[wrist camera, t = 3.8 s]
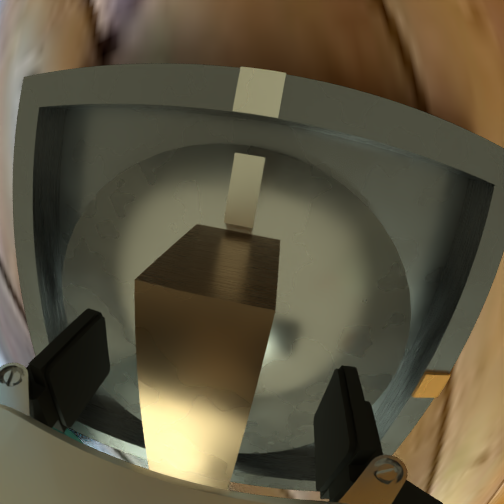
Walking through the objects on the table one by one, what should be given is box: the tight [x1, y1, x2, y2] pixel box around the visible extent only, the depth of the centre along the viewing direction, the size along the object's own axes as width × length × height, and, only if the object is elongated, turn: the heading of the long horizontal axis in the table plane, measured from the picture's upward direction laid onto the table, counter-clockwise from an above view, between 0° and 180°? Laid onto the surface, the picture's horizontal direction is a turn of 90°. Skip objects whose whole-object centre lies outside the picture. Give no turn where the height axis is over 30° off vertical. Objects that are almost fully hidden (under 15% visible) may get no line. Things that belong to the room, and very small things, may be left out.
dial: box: [62, 143, 411, 490], centre depth 11 cm, size 16×16×6 cm
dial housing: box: [13, 63, 504, 491], centre depth 14 cm, size 21×21×4 cm
